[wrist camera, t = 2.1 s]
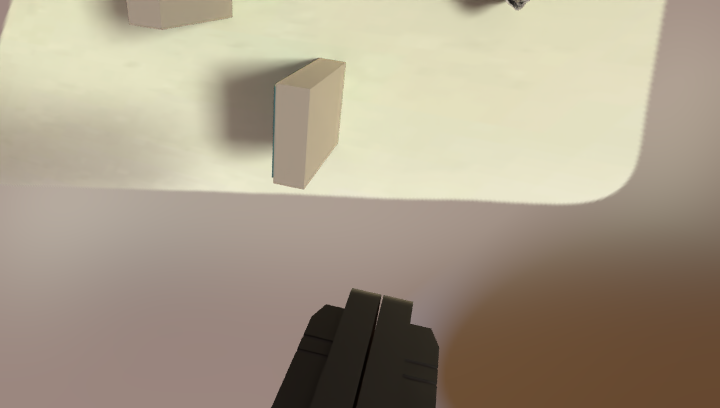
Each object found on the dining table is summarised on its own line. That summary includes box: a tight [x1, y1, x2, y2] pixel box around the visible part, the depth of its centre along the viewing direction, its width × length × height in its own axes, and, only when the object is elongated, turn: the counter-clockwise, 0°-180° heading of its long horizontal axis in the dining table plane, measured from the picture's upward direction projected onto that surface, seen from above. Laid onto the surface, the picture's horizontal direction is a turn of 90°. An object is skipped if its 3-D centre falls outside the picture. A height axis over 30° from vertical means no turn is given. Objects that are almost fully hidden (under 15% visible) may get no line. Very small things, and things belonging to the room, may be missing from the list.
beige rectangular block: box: [272, 58, 346, 189], centre depth 24 cm, size 5×2×7 cm, turn 173°
